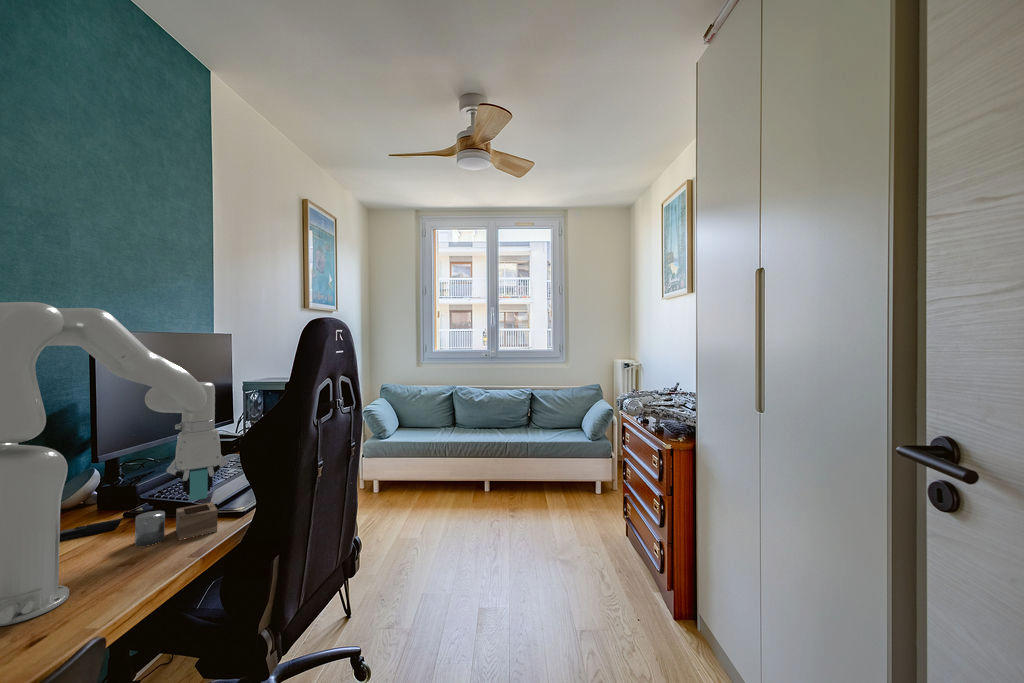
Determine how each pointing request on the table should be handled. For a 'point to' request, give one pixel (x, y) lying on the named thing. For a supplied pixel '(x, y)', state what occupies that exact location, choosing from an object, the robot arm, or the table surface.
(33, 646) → the table surface
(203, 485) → the square peg
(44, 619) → the table surface
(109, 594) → the table surface
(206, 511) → the block
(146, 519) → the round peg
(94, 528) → the electric trimmer
